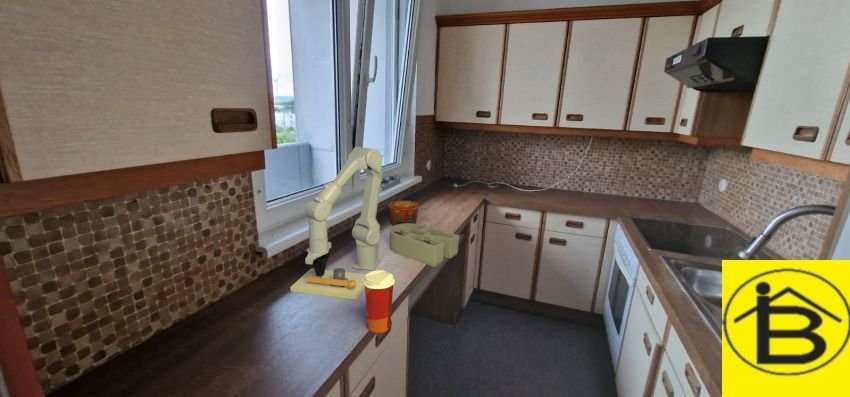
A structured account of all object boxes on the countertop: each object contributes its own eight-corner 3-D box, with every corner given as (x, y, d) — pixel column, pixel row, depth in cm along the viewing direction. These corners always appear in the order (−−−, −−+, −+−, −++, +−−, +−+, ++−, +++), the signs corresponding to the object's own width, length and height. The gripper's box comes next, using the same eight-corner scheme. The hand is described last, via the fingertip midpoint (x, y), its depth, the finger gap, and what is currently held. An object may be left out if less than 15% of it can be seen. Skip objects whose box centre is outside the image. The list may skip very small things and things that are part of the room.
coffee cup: (379, 314, 102) (379, 266, 98) (400, 326, 96) (401, 275, 93) (357, 327, 95) (356, 276, 92) (378, 340, 90) (377, 287, 86)
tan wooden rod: (309, 279, 115) (309, 275, 115) (357, 284, 113) (356, 280, 112) (306, 282, 113) (306, 278, 113) (354, 288, 110) (354, 284, 110)
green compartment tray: (434, 268, 133) (435, 247, 130) (381, 249, 149) (381, 230, 147) (458, 255, 145) (459, 235, 143) (406, 238, 162) (407, 221, 160)
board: (311, 272, 126) (311, 266, 125) (370, 278, 122) (370, 272, 122) (290, 291, 113) (290, 284, 112) (356, 299, 109) (356, 292, 108)
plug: (335, 282, 119) (334, 266, 118) (350, 284, 118) (350, 267, 117) (327, 290, 114) (327, 273, 112) (344, 292, 113) (343, 275, 112)
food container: (421, 220, 189) (421, 200, 186) (416, 229, 174) (416, 208, 171) (391, 218, 191) (392, 198, 188) (384, 227, 176) (384, 206, 173)
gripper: (317, 228, 122) (319, 265, 126) (295, 243, 109) (297, 284, 112) (336, 230, 121) (337, 267, 125) (316, 246, 107) (318, 286, 111)
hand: (320, 275), depth 118 cm, fingers closed
